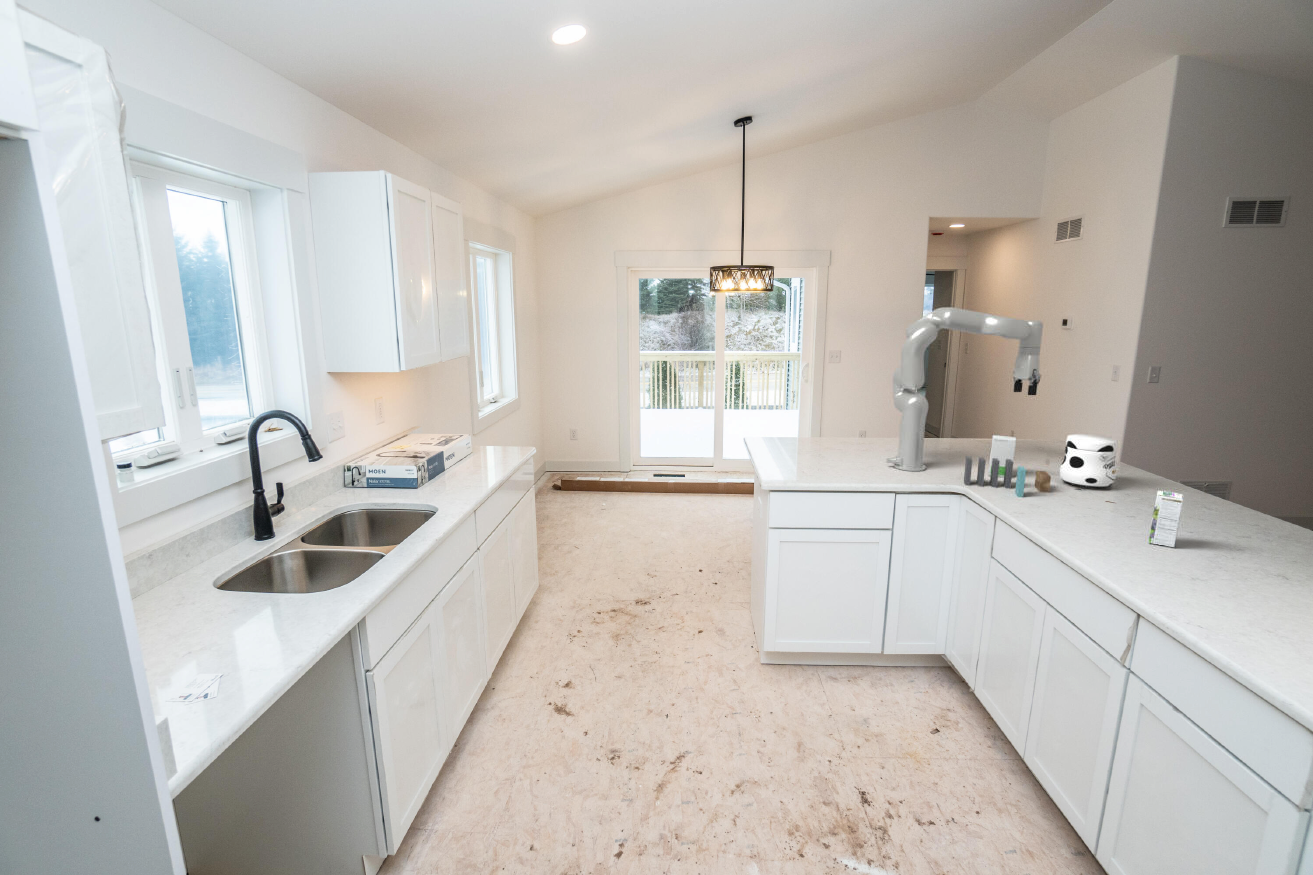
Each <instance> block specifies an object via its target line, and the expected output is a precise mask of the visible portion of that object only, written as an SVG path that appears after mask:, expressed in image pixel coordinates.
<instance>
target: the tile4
mask: <svg viewBox="0 0 1313 875" xmlns="http://www.w3.org/2000/svg"><path fill="white" fill-rule="evenodd" d="M1013 468H1014V460H1013V461H1012V460H1011V459H1006V463H1005V473H1004V477H1003V482H1002V483H1003V484H1002V485H1003V486H1004V488H1005V489H1011V488H1012V479H1013V478H1012V476H1013Z"/></svg>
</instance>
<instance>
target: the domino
mask: <svg viewBox="0 0 1313 875" xmlns="http://www.w3.org/2000/svg"><path fill="white" fill-rule="evenodd" d="M1016 472H1017V473H1016V481H1015V488H1014V489H1015V491H1014V494H1015V495H1016V496H1017V497H1018V498H1023V497H1024V491H1025V482H1026V472H1027V469H1026V468H1025V467H1024V466H1020V465H1018V466H1017V471H1016Z"/></svg>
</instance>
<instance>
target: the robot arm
mask: <svg viewBox="0 0 1313 875" xmlns="http://www.w3.org/2000/svg"><path fill="white" fill-rule="evenodd" d="M1043 328H1044V323H1043V321H1042V320H1024V319H1018V318H1013V317H1007V316H1002V315H996V314H990V313H985V312H979V311H975V310H968V309H964V308H958V307H952V306H951V307H948V306H947V307H939V308H936V309H933V310H932V311H930V312H929V313H927V314H925V315H924V316H922V317H921V318H918V319H917V320H916V321H914V322H912V323H911V324H910V325H909V326H908V327H907V329H906V331H905V335H906V340H905V342H904V344H903V346H902V349H901V352H900V353H901V355H900V366H899V367H897V368H896V369H895V371H894V372H893V374H892V394H893V395H892V396H893V403H894V407H895V409H896V410H897V411H899V412H901V413H902V415H901V420H900V424H899V436H898V439H899V440H898V450H897V451H898V453H897V455H895V457H893V458H892V457H891V458H890V457H887V458H886V459H885V463H886V464H890V463H891V464H893V468H895V469H897V470H900V471H906V472H907V471H908V472H922V471H925V470H926V468H927V466H926V465H925V464H923V456H924V454H923V453H924V443H925V430H926V427H925V426H926V421H927V415H928V411H929V402H928V399H927V398H926V397H925V396H924V395H923V394H921V393H917V390H920V389H921V388H922V387H923V386H924V384H925V365H924V364H925V363H924V360H925V353H926V352H925V351H926V350H927V348H928V346H930V344H932V343H933V342H934V341H935V340H936V338H937V337H938V333H939V331H940V330H942V329H947V330H952V331H959V332H964V333H965V332H966V333H968V334H976V335H980V336H982V335H983V336H985V335H986V336H998V337H1001V338H1003V339H1006V340H1016V341H1017V340H1018V341H1019V343H1018V352H1017V356H1016V359H1015V363H1014V369H1013V371H1012V376H1013V377H1012V378H1013V393H1022V392H1023V381H1028V383H1029V385H1028V387H1027V396H1036V395H1037V390H1038V386H1039V384H1040V381H1041V379H1042V374H1041V373H1040V354H1041V347H1042V337H1043Z"/></svg>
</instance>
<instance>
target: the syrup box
mask: <svg viewBox="0 0 1313 875" xmlns="http://www.w3.org/2000/svg"><path fill="white" fill-rule="evenodd" d="M1154 503H1155V504H1154V508H1153V512H1152V516H1151V517H1152V518H1151V522H1150V530H1149V537H1148V542H1149V543H1154V544H1159V545H1166V546H1172V547H1174V548H1175V546H1176V541H1177V536H1178V529H1179V526H1180V520H1181V514H1182V509H1183V503H1184V494H1181V493H1178V492H1174V491H1172V492H1171V491H1167V490H1158V491H1157V492H1156V499H1155V502H1154ZM1149 543H1148V544H1149Z"/></svg>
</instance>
